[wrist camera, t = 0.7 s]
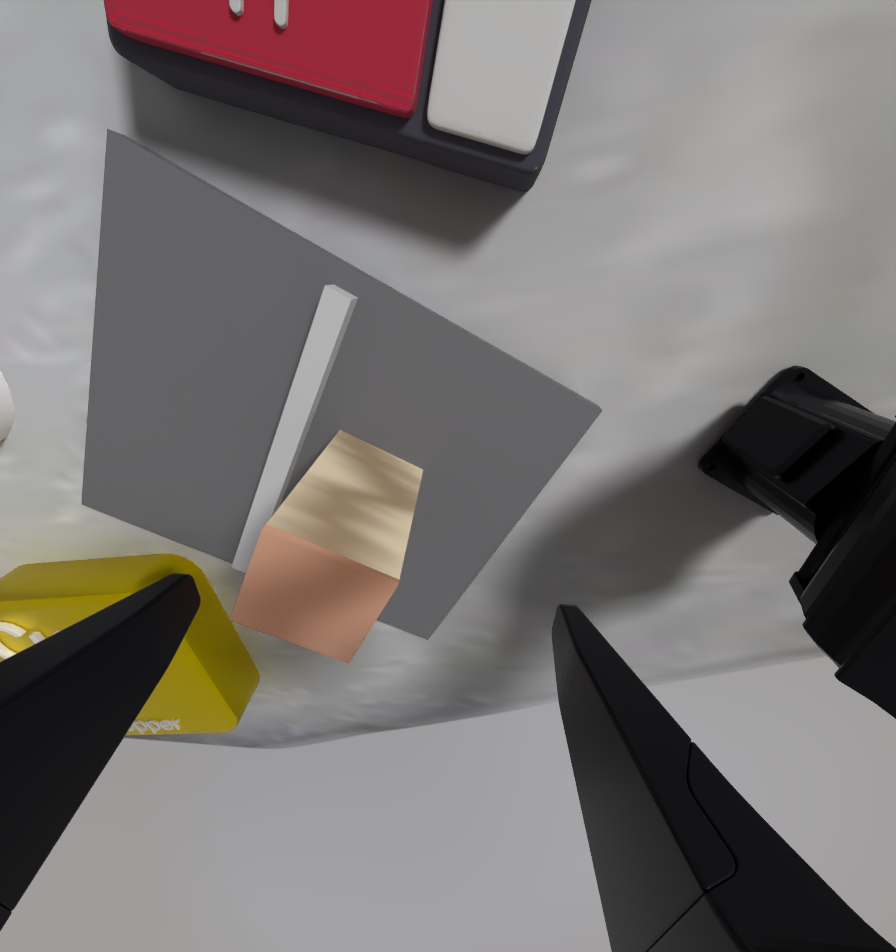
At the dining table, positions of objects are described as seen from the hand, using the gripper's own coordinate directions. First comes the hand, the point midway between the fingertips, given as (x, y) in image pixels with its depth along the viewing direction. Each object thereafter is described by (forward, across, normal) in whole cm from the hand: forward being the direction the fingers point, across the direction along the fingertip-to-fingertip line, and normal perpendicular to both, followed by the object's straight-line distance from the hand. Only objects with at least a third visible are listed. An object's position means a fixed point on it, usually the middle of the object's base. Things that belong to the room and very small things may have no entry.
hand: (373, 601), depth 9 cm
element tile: (+14, +22, +19) cm, 32 cm away
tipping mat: (+13, +6, +3) cm, 15 cm away
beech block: (+12, +4, +4) cm, 13 cm away
